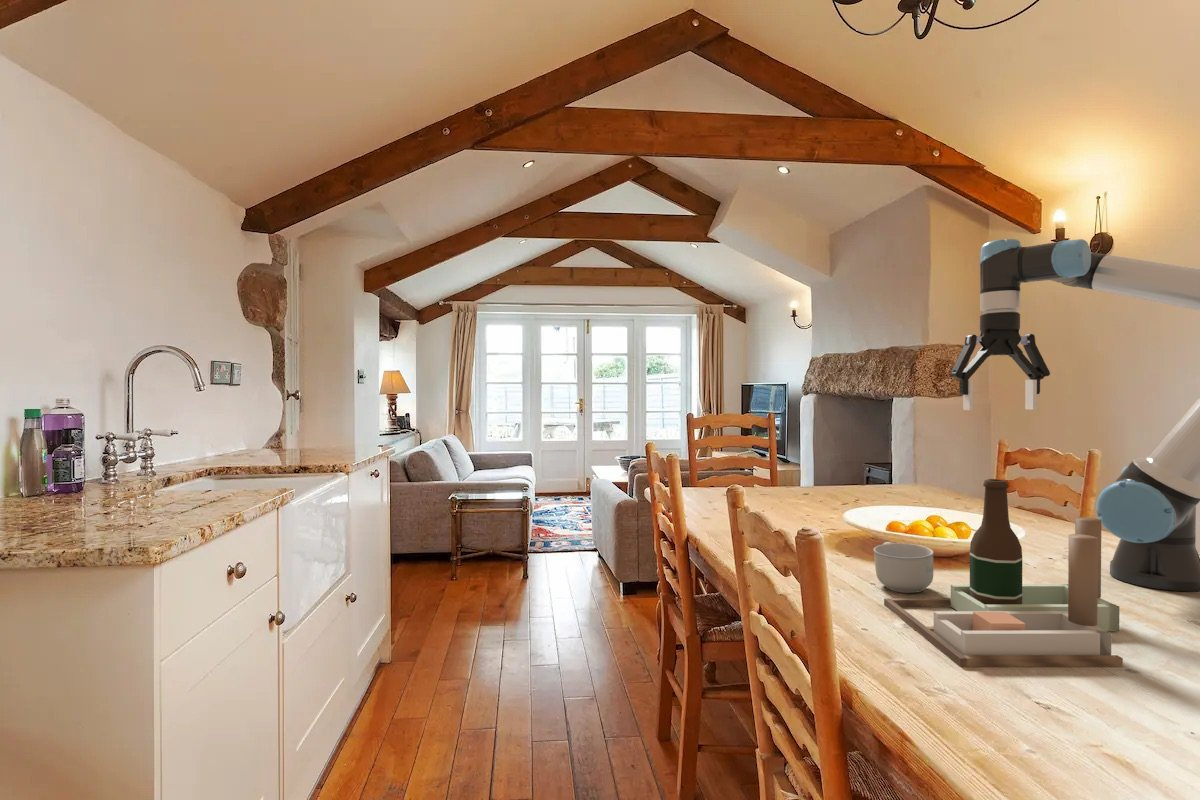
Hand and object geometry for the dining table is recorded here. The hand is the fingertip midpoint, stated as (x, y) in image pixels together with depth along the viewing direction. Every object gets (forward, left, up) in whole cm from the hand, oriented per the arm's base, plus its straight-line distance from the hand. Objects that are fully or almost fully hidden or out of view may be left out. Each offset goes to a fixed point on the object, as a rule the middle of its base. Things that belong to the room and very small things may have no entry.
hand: (999, 409), depth 143 cm
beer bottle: (+19, +31, -35) cm, 50 cm away
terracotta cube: (+26, +44, -35) cm, 62 cm away
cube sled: (+23, +44, -35) cm, 61 cm away
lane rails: (+23, +37, -35) cm, 56 cm away
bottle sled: (+13, +32, -35) cm, 49 cm away
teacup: (+27, +13, -35) cm, 46 cm away
